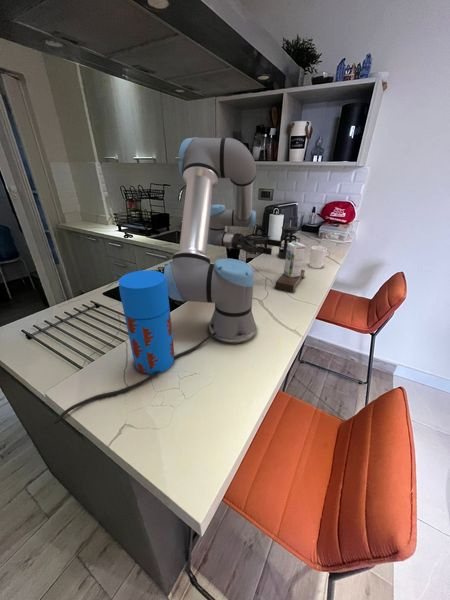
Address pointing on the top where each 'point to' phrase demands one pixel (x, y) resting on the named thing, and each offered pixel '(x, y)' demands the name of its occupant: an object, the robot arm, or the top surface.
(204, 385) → the top surface
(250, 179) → the robot arm
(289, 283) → the brown rectangular block
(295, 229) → the french press
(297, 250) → the syrup box
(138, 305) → the thermos
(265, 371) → the top surface
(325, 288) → the top surface
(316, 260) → the white cup
